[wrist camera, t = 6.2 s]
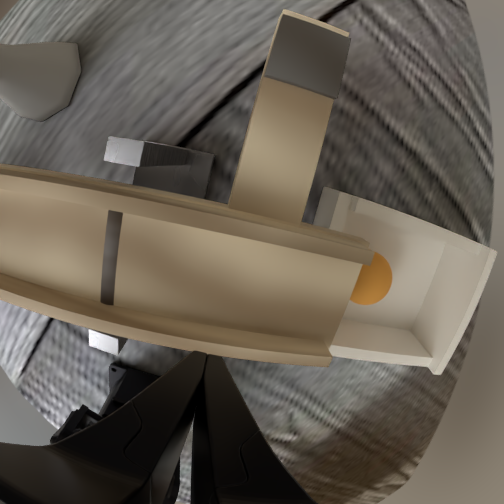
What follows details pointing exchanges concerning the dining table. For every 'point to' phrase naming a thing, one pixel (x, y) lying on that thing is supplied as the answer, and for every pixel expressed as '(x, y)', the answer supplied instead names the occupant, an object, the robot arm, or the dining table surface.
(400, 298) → the white open box
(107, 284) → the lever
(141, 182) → the stand
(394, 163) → the dining table surface
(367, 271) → the ball
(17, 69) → the flask
